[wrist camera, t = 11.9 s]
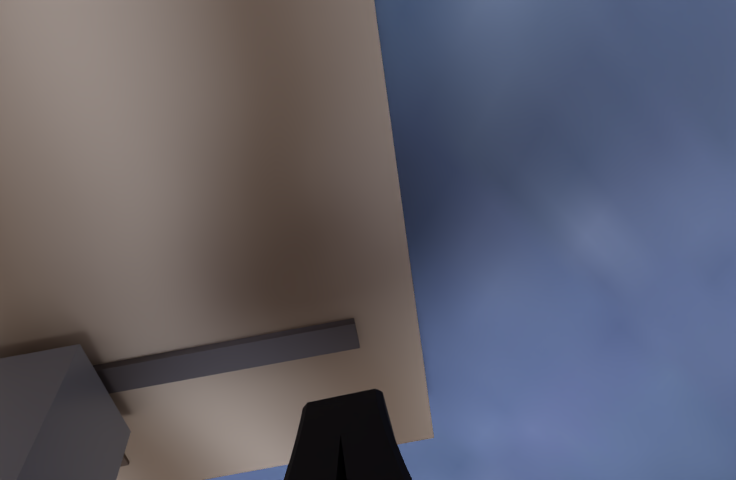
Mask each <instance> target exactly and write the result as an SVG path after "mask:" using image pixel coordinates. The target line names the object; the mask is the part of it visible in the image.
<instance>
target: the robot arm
mask: <svg viewBox="0 0 736 480" xmlns="http://www.w3.org/2000/svg"><path fill="white" fill-rule="evenodd" d="M284 480H412V478H411V476H410V474H409V472H408V470H407V467H406V465H405V463H404V460H403V458H402V456H401V453H400V451H399V448H398V445H397V443H396V440H395V436H394V432H393V429H392V425H391V421H390V417H389V414H388V410H387V406H386V403H385V399H384V395H383V392H382V391H380V390H378V389H370V390H365V391H360V392H356V393H351V394H346V395H341V396H336V397H331V398H326V399H322V400H317V401H312V402H307V404H306V405H305V406H304V407H303V409H302V414H301V419H300V423H299V427H298V431H297V435H296V439H295V443H294V447H293V450H292V454H291V458H290V461H289V464H288V468H287V471H286V474H285V477H284Z"/></svg>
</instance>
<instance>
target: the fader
mask: <svg viewBox="0 0 736 480" xmlns="http://www.w3.org/2000/svg"><path fill="white" fill-rule="evenodd" d="M130 433H131V431H130V429H129V427H128V426H127V424H126V422H125V421H124V419H123V417H122V415H121V414H120V412H119V410H118V409H117V407H116V405H115V403H114V402H113V400H112V398H111V397H110V395H109V393H108V391H107V390H106V388H105V386H104V385H103V383H102V381H101V379H100V378H99V376H98V374H97V373H96V371H95V369H94V367H93V366H92V364H91V362H90V361H89V359H88V357H87V355H86V354H85V352H84V350H83V348H82V347H81V345H80V344H77V345H72V346H66V347H61V348H55V349H50V350H44V351H39V352H33V353H28V354H22V355H17V356H11V357H6V358H0V480H116V479H117V476H118V472H119V469H120V466H121V462H122V459H123V456H124V453H125V449H126V446H127V443H128V439H129V436H130Z"/></svg>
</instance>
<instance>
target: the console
mask: <svg viewBox="0 0 736 480" xmlns="http://www.w3.org/2000/svg"><path fill="white" fill-rule="evenodd" d="M77 344H80V345H81V347H82V348H83V350H84V352H85V354H86V355H87V357H88V359H89V361H90V362H91V364H92V366H93V367H94V369H95V371H96V373H97V374H98V376H99V378H100V379H101V381H102V383H103V385H104V386H105V388H106V390H107V391H108V393H109V395H110V397H111V398H112V400H113V402H114V403H115V405H116V407H117V409H118V410H119V412H120V414H121V415H122V417H123V419H124V421H125V422H126V424H127V426H128V427H129V429H130V431H131V433H130V436H129V439H128V443H127V446H126V449H125V453H124V456H123V459H122V462H121V466H120V469H119V472H118V476H117V479H116V480H205V479H210V478H216V477H221V476H227V475H232V474H238V473H243V472H249V471H254V470H260V469H265V468H271V467H276V466H282V465H287V464H289V461H290V458H291V454H292V450H293V447H294V443H295V439H296V435H297V431H298V427H299V423H300V419H301V414H302V409H303V407H304V406H305V405H306V404H307V402H312V401H317V400H322V399H326V398H331V397H336V396H341V395H346V394H351V393H356V392H360V391H365V390H370V389H378V390H380V391H382V392H383V395H384V399H385V403H386V406H387V410H388V414H389V417H390V421H391V425H392V429H393V432H394V436H395V440H396V443H397V444H402V443H408V442H413V441H419V440H424V439H430V438H434V435H433V428H432V420H431V413H430V406H429V398H428V391H427V384H426V377H425V369H424V362H423V355H422V347H421V340H420V333H419V325H418V318H417V311H416V303H415V296H414V289H413V281H412V274H411V267H410V259H409V252H408V245H407V237H406V230H405V223H404V215H403V208H402V201H401V194H400V186H399V179H398V172H397V164H396V157H395V150H394V142H393V135H392V128H391V120H390V113H389V106H388V98H387V91H386V84H385V76H384V69H383V62H382V54H381V47H380V40H379V32H378V25H377V18H376V11H375V3H374V0H0V358H6V357H11V356H17V355H22V354H28V353H33V352H39V351H44V350H50V349H55V348H61V347H66V346H72V345H77Z"/></svg>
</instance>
